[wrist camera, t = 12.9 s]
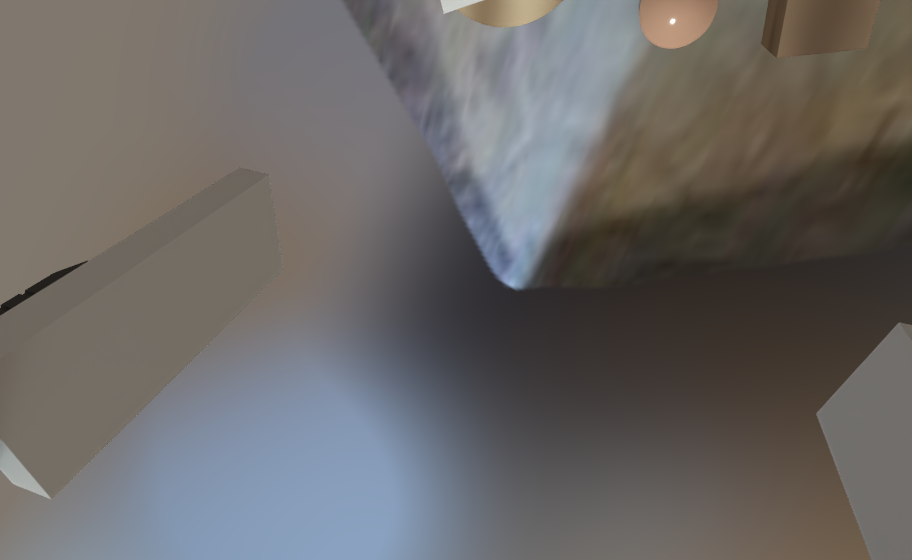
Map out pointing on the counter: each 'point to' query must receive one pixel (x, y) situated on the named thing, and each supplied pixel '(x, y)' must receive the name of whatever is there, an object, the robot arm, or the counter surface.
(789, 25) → the walnut cube
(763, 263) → the counter surface
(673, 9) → the peach domed cylinder
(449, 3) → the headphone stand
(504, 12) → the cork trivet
